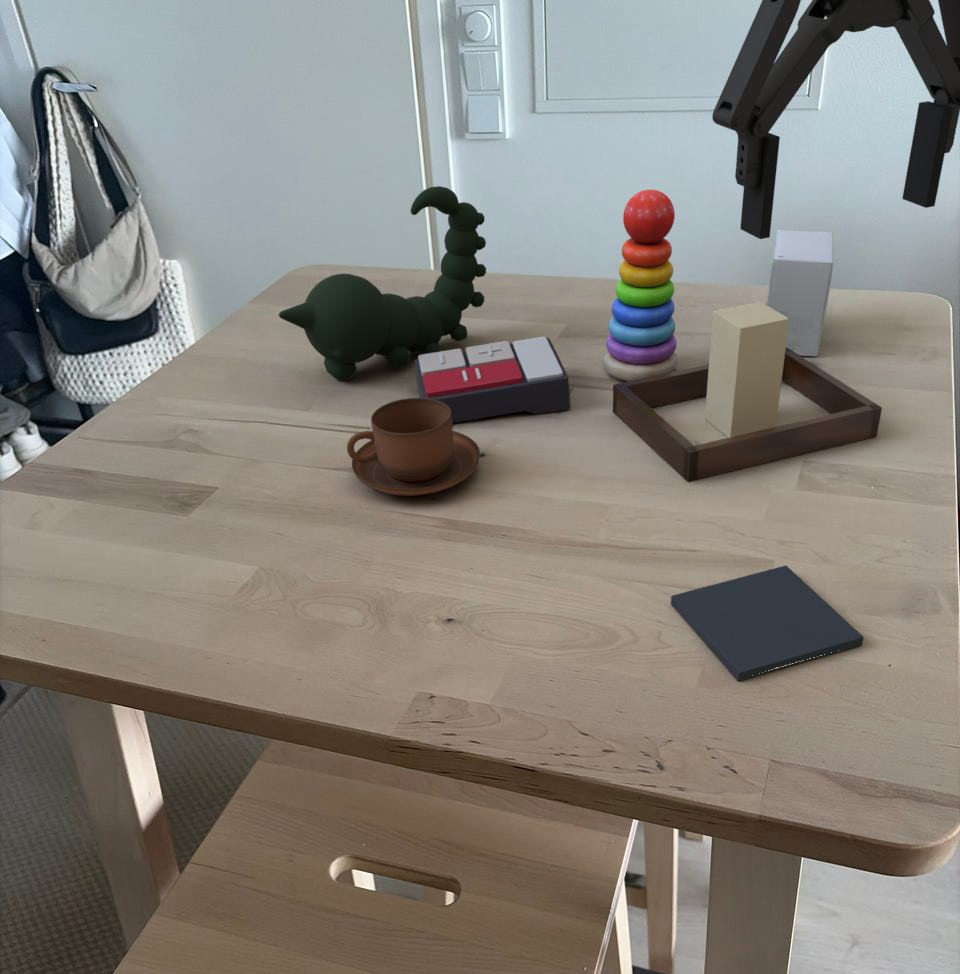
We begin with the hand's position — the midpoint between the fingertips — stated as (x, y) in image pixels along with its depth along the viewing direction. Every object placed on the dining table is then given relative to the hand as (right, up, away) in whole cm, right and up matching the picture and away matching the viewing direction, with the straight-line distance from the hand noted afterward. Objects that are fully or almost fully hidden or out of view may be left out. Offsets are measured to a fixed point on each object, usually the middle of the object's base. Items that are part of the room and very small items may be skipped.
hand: (838, 218), depth 74 cm
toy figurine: (-36, +1, +44) cm, 57 cm away
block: (0, -9, +27) cm, 28 cm away
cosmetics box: (+10, +4, +43) cm, 44 cm away
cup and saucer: (-32, -15, +23) cm, 42 cm away
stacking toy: (-8, -1, +38) cm, 39 cm away
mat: (-5, -29, +2) cm, 30 cm away
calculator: (-25, -5, +35) cm, 43 cm away
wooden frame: (0, -9, +27) cm, 28 cm away
